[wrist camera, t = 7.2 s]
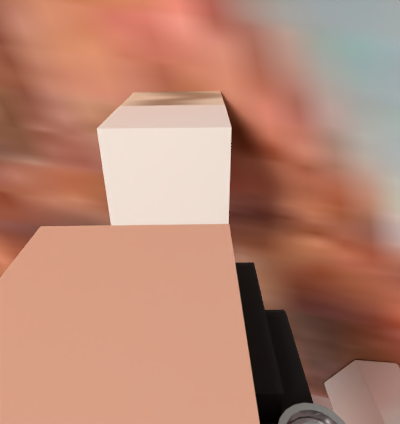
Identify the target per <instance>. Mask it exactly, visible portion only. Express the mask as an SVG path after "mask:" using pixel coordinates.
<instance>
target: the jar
mask: <svg viewBox="0 0 400 424" xmlns="http://www.w3.org/2000/svg"><path fill="white" fill-rule="evenodd" d="M324 386H325V388H326V391H327V394H328V397H329V400H330V403H331V406H332V409H333V412H334V413H335V414H337V415H338V416H339V417H340V418H341V419H342V420H343V421H344V422H345V423H346V424H400V367H399V366H398V364H396V363H389V362H376V361H364V360H354V361H353V362H351V363H350V364H349V365H347V366H346V367H345V368H343V369H342V370H341V371H339V372H338V373H336V374H335V375H334V376H332V377H331V378H330V379H328V380H327V381H326V382H325V383H324Z"/></svg>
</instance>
